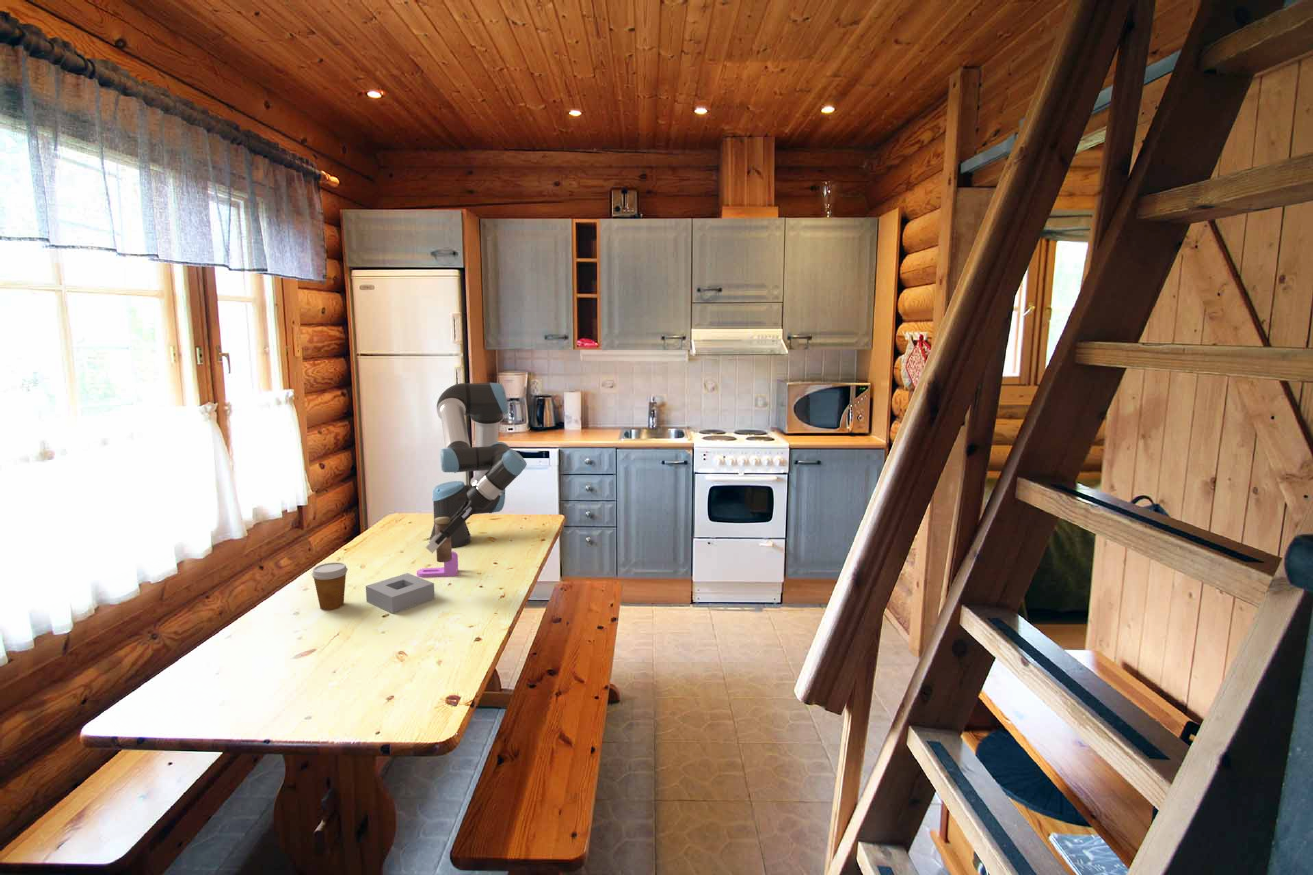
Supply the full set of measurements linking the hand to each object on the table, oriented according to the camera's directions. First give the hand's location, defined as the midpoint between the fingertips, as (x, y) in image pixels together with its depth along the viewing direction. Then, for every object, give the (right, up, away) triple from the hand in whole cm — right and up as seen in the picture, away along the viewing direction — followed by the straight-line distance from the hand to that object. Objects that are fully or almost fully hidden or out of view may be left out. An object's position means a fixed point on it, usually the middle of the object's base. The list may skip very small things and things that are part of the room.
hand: (430, 547), depth 201 cm
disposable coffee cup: (-27, -17, -5) cm, 33 cm away
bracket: (-5, -13, +22) cm, 26 cm away
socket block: (-9, -16, 0) cm, 18 cm away
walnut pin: (+4, -4, +1) cm, 6 cm away
